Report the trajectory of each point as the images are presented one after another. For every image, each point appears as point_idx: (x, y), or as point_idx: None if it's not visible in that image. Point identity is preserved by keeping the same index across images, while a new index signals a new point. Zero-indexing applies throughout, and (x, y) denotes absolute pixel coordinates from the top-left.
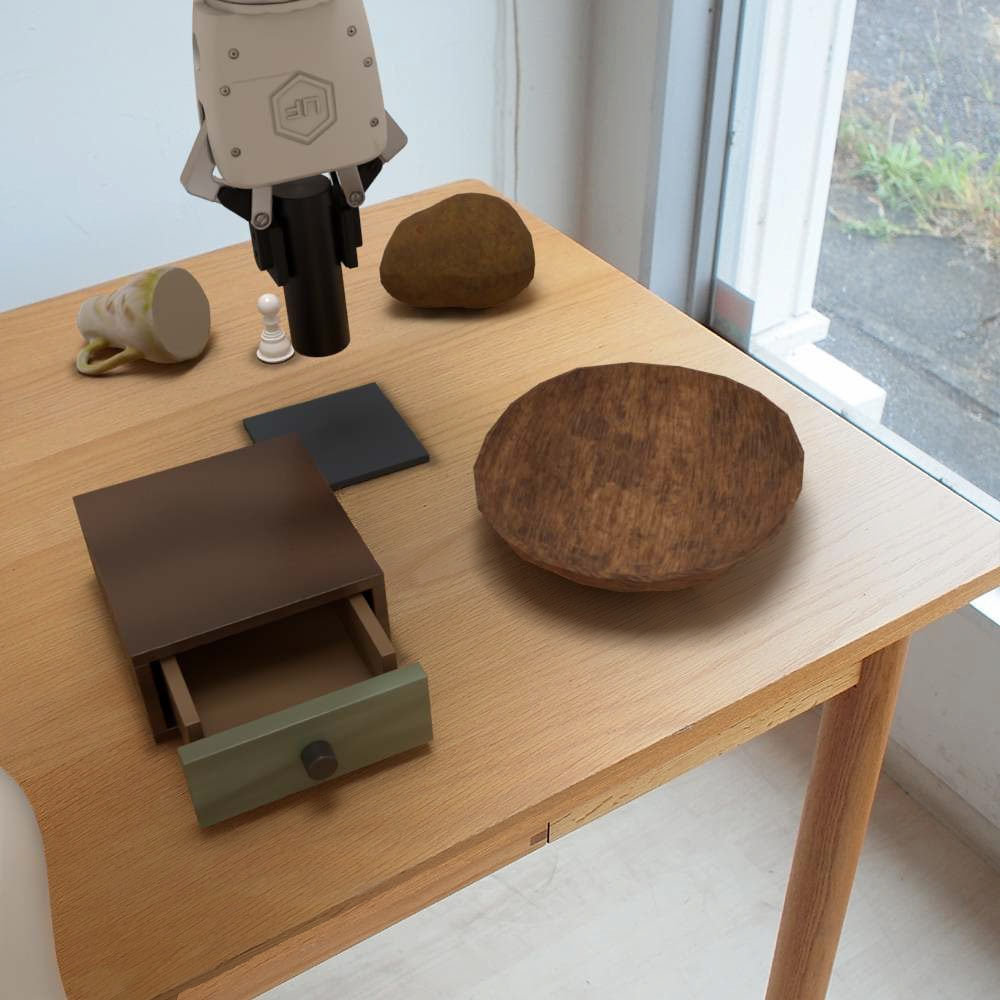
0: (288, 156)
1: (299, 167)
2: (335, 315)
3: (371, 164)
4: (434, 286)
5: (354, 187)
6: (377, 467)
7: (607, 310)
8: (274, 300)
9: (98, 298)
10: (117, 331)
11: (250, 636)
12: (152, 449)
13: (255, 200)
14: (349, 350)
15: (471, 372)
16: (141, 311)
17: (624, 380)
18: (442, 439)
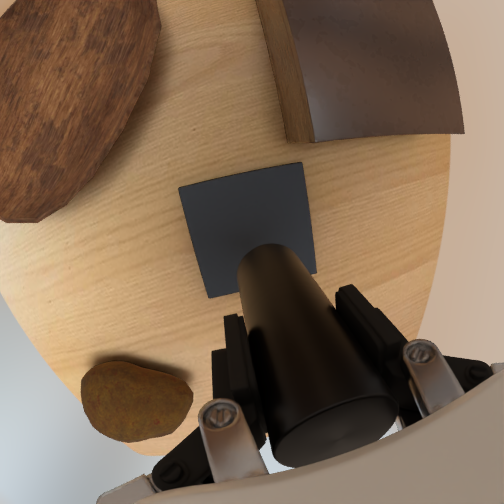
0: (469, 468)
1: (427, 452)
2: (260, 269)
3: (176, 478)
4: (152, 379)
5: (222, 434)
6: (224, 180)
7: (49, 338)
8: None
9: None
10: None
11: None
12: (374, 257)
13: (448, 377)
14: (222, 343)
15: (133, 297)
16: None
17: (16, 209)
18: (164, 215)
